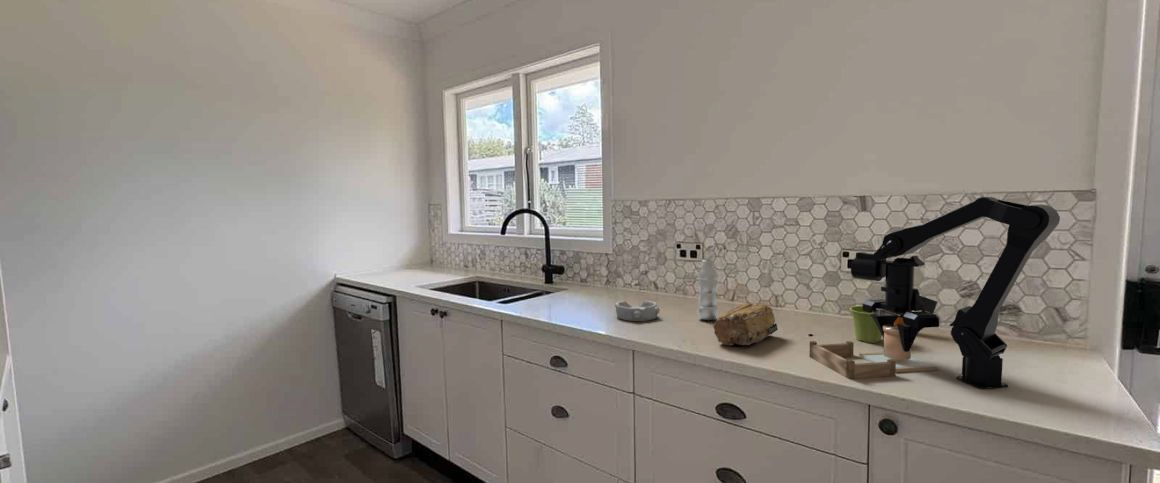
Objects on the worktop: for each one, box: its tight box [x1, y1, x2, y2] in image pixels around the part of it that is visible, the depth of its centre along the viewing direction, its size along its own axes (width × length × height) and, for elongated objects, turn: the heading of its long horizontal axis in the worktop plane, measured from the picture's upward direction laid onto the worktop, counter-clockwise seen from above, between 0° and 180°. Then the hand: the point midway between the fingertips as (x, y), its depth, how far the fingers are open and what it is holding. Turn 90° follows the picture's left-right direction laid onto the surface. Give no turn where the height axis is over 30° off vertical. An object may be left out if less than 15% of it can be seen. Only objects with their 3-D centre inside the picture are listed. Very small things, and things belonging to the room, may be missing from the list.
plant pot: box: [849, 305, 883, 344], centre depth 143 cm, size 9×9×9 cm
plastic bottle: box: [696, 258, 719, 321], centre depth 170 cm, size 6×7×20 cm
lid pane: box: [858, 351, 939, 373], centre depth 124 cm, size 12×11×1 cm
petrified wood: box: [713, 302, 778, 346], centre depth 147 cm, size 19×13×10 cm
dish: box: [614, 300, 661, 322], centre depth 177 cm, size 14×14×5 cm
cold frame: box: [809, 340, 897, 380], centre depth 123 cm, size 16×11×4 cm
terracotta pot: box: [883, 324, 912, 360], centre depth 124 cm, size 6×6×7 cm
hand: (897, 347), depth 124 cm, fingers closed on terracotta pot, 6 cm apart
